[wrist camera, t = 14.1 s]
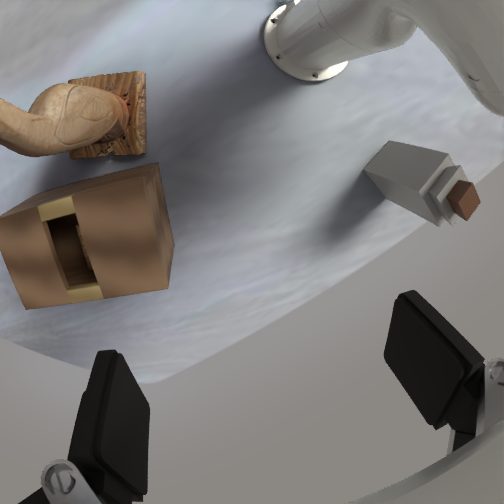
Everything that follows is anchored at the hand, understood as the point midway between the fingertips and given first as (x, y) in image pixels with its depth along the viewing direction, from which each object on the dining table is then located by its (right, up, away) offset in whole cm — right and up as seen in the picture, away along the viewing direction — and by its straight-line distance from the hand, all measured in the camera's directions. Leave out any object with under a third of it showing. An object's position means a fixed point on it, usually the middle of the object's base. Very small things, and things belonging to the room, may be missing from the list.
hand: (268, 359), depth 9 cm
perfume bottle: (+21, +17, +34) cm, 43 cm away
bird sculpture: (-20, +21, +24) cm, 38 cm away
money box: (-22, +8, +29) cm, 38 cm away
